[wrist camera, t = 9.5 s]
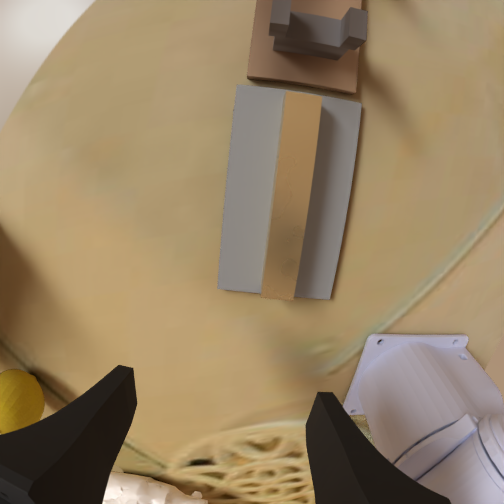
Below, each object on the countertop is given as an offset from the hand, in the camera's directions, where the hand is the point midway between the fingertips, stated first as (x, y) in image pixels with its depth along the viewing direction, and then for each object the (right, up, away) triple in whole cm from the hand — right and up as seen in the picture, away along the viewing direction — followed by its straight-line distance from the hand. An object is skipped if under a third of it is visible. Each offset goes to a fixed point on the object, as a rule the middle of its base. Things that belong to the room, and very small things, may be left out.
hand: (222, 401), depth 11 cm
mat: (+3, +9, +7) cm, 12 cm away
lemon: (-20, -6, +12) cm, 24 cm away
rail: (+3, +9, +6) cm, 11 cm away
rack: (+5, +21, +3) cm, 22 cm away
